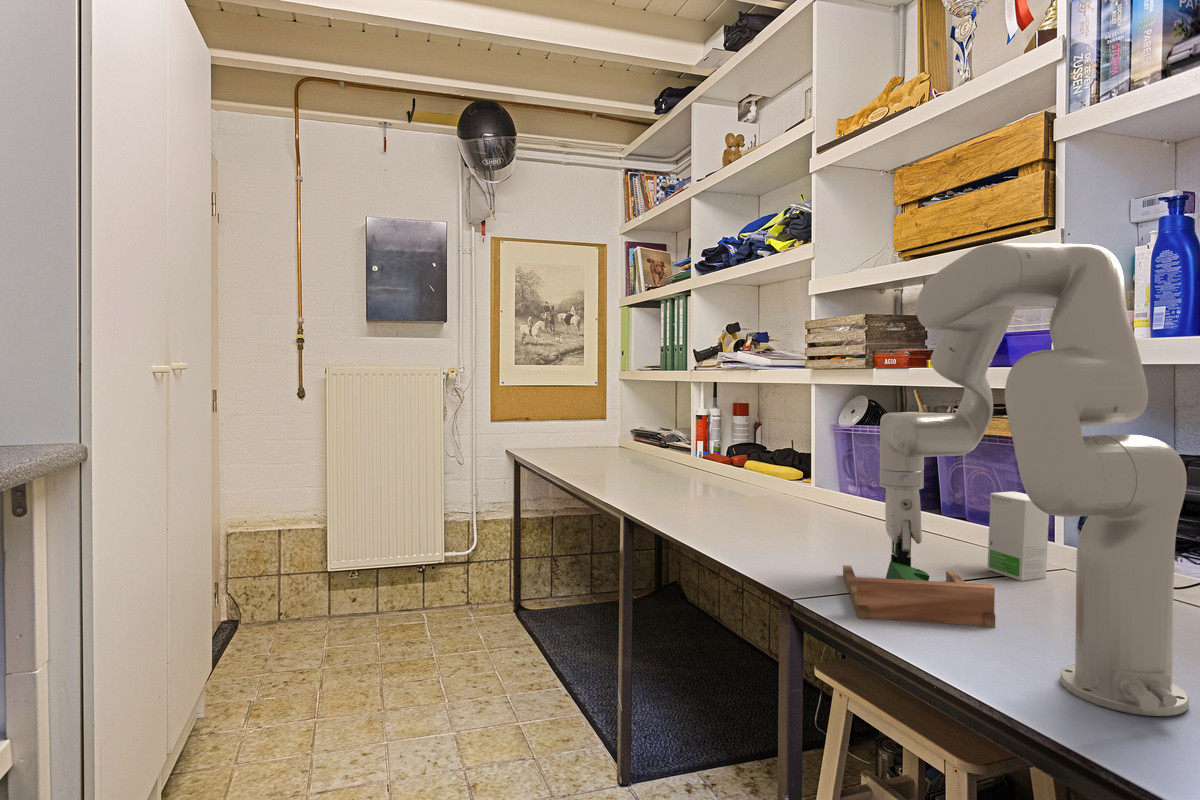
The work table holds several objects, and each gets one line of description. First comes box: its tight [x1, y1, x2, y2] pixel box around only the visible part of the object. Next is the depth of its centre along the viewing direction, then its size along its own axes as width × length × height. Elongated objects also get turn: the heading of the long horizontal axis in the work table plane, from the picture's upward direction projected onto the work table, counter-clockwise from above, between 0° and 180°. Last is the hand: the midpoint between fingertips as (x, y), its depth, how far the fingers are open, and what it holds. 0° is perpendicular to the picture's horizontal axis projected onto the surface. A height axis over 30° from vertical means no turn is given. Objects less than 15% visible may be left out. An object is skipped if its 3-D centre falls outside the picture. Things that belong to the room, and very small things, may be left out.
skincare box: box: [986, 491, 1050, 582], centre depth 137 cm, size 8×7×16 cm
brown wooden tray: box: [842, 564, 996, 628], centre depth 124 cm, size 25×20×6 cm
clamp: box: [885, 560, 931, 581], centre depth 121 cm, size 12×6×9 cm, turn 162°
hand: (900, 576), depth 132 cm, fingers closed
